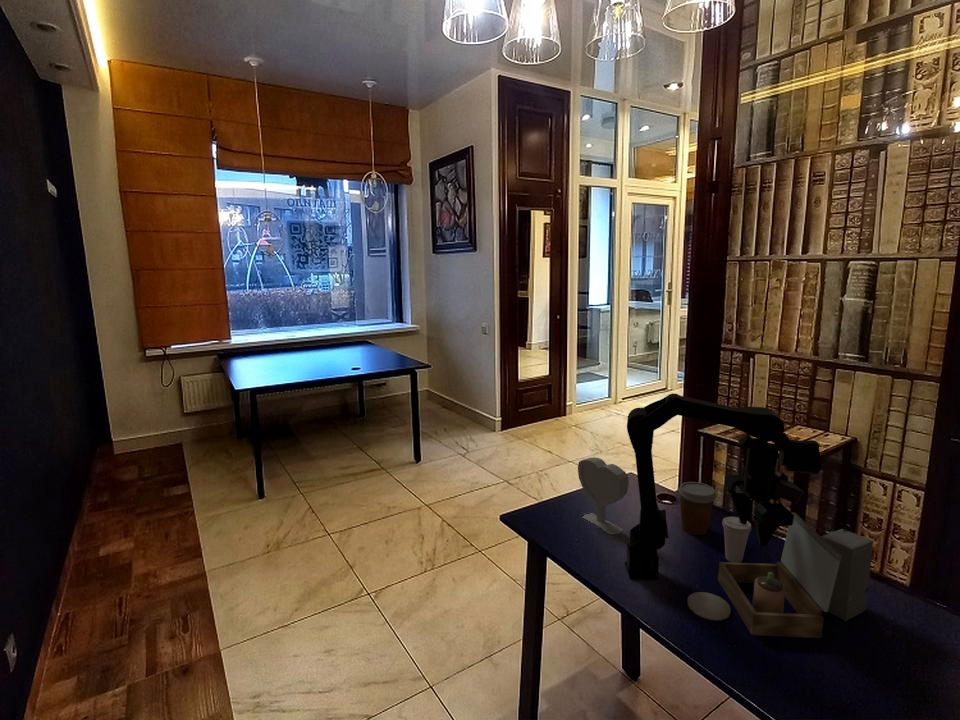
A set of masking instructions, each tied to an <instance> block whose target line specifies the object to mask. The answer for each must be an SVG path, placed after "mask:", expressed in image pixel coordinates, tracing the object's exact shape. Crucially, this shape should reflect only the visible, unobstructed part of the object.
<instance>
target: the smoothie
mask: <svg viewBox="0 0 960 720" xmlns="http://www.w3.org/2000/svg"><path fill="white" fill-rule="evenodd" d="M721 522H722V523H721V524H722V526H723V536H724V537H723V538H724V554H725V559H726V560H727V562H734V563H743V558H744V554H745V551H746V546H747V543H748V539H749V535H750V532H751V531H752V523H751V522H750V521H749V520H747V523H746V524H741V522H740V520H739V517H738V516H726V517H724V518H723V519H722V521H721Z"/></svg>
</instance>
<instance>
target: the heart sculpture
mask: <svg viewBox="0 0 960 720" xmlns="http://www.w3.org/2000/svg"><path fill="white" fill-rule="evenodd" d="M577 465H578V466H577V474H578V475H577V476H578V479H579V482H580V484H581V487H582V490H583V491H584V492H585V493H586V494H585V495H587V497H588V498H589V500H590V501H591V502H592V503H593V505H594V506H595V508H596V514H595V513H593V512H589V513H590V514H585V513H584V514H585V515H584V516H583V517H582V518H584V519H586V520H588V521H590V522H591V523H594V524H596V525H597V526H599V527H601V528H602V529H603V530H604V531H603V530H602V531H603V532H605V531H606V532H605V533H607V534H608V535H619V534H621V533H622V532H623V530H624V529H623V528H622V527H620V526H618V525H616V524H614V523H613V522H610V521H608V520H606V510H607V509H606V508H607V506H609V505H612V504H615V503H616V502H619V501H621V500H623V498H624V497H625V496H626V495H627V494H628V490H629V485H630V484H629V483H630V482H629V475H628V474H627V472H626V471H625V470H624V469H622V468H621V466H618V465H616V464H614V463H610V464H609V463H608V464H607V463H606V462H605V460H603V459H602V458H599V457H588V458H584V459H581V460H580V461H578V463H577Z"/></svg>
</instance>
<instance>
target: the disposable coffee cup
mask: <svg viewBox="0 0 960 720" xmlns="http://www.w3.org/2000/svg"><path fill="white" fill-rule="evenodd" d="M678 495H679V501H680V515H681V528H682V529H683V531H684V532H686V533H688V534H691V535H694V536H703V535H706V534H707V533H708V528H709V525H710V519H711V517H712V516H711V515H712V511H713V506H714V501H716V498H717V493H716V491H715V489H714V487H712V486H711V485H709V484H706V483H703V482H697V481H686V482H683V483H681V484H680V486H679V488H678Z"/></svg>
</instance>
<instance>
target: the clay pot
mask: <svg viewBox="0 0 960 720" xmlns="http://www.w3.org/2000/svg"><path fill="white" fill-rule="evenodd" d="M785 590H786V588H785V586H784V585H783V584H782V583H781V582H780V581H779V580H777V579H775V578H774V574H773V573H772V572H769V573H768V576H761V577H758V578H756V579H755V583H753V596H752V603H751V605H752V607H753V608H754V610H755V611H756V612H765V613H784V606H785V599H786V598H785Z"/></svg>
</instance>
